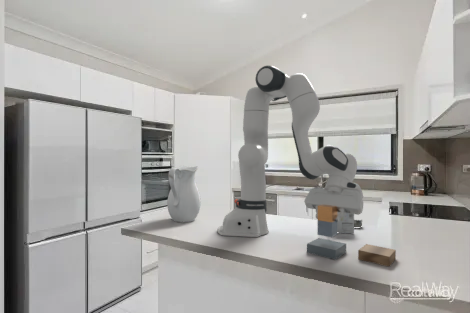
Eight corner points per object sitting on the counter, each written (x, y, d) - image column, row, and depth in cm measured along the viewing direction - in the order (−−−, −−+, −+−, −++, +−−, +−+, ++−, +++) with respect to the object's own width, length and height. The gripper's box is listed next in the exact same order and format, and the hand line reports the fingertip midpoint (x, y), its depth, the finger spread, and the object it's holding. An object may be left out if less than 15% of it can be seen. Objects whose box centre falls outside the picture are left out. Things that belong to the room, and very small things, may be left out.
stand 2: (358, 259, 90) (358, 250, 90) (366, 252, 97) (366, 244, 97) (389, 266, 84) (389, 256, 84) (395, 259, 91) (395, 249, 91)
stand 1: (306, 252, 96) (306, 243, 96) (318, 246, 103) (319, 237, 103) (335, 259, 89) (335, 250, 89) (346, 252, 97) (346, 243, 97)
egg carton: (337, 226, 137) (337, 218, 137) (340, 224, 143) (340, 216, 143) (360, 230, 130) (360, 221, 131) (363, 227, 137) (363, 218, 137)
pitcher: (177, 215, 154) (178, 165, 154) (205, 218, 149) (206, 166, 149) (152, 224, 131) (153, 166, 132) (183, 228, 126) (185, 167, 126)
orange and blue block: (317, 234, 96) (317, 205, 96) (323, 231, 100) (323, 204, 100) (331, 237, 93) (331, 207, 93) (337, 234, 97) (337, 205, 97)
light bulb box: (349, 230, 128) (350, 207, 129) (354, 234, 122) (354, 209, 122) (326, 229, 129) (326, 206, 130) (329, 233, 123) (329, 208, 123)
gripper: (308, 181, 109) (296, 210, 101) (364, 185, 95) (355, 218, 88) (313, 192, 112) (302, 220, 104) (367, 197, 99) (359, 229, 91)
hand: (326, 219), depth 96 cm, fingers closed on orange and blue block, 5 cm apart
